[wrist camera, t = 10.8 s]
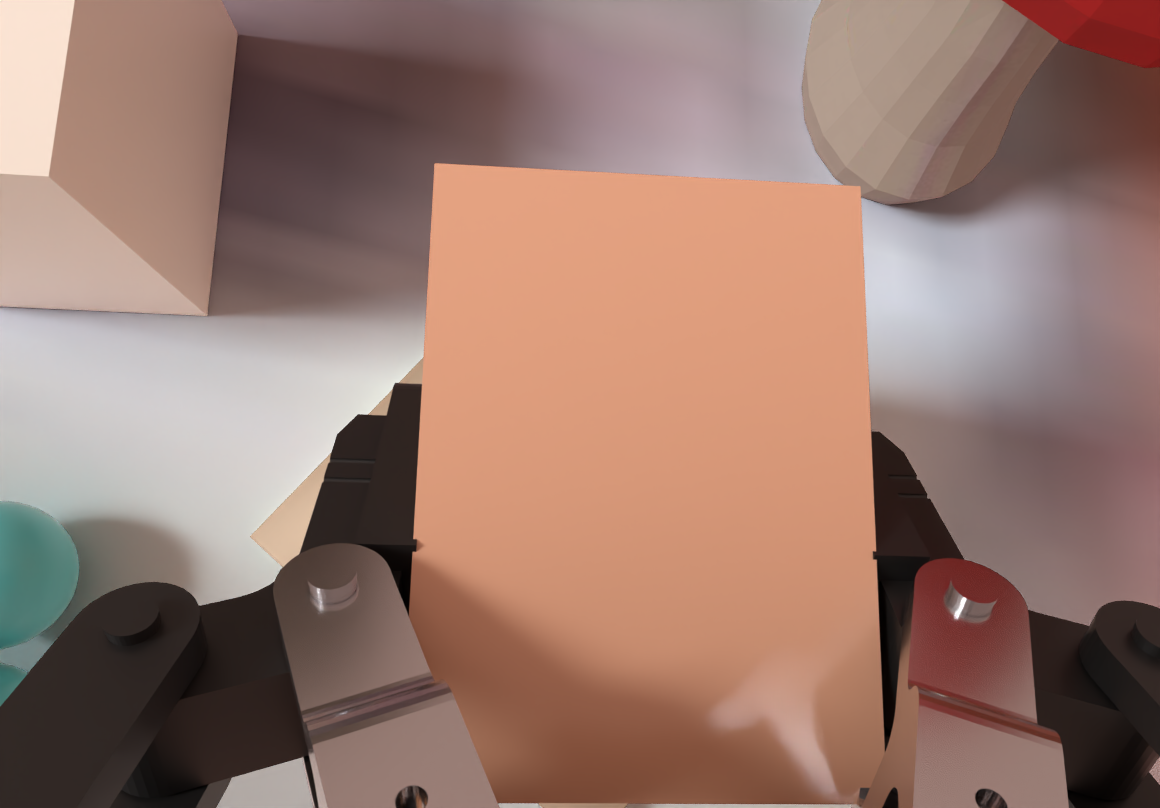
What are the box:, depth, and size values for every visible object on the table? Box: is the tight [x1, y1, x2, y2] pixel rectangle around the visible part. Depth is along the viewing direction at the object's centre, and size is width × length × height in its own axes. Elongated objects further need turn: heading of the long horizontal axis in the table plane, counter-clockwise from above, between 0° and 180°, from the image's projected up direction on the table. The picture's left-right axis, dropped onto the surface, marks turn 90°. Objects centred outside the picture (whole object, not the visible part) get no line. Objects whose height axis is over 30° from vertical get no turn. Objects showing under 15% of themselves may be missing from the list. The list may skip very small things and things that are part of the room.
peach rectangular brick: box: [409, 163, 885, 804], centre depth 14 cm, size 7×5×8 cm
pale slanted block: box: [0, 0, 238, 316], centre depth 18 cm, size 7×5×8 cm
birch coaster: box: [250, 357, 628, 808], centre depth 21 cm, size 10×10×1 cm
